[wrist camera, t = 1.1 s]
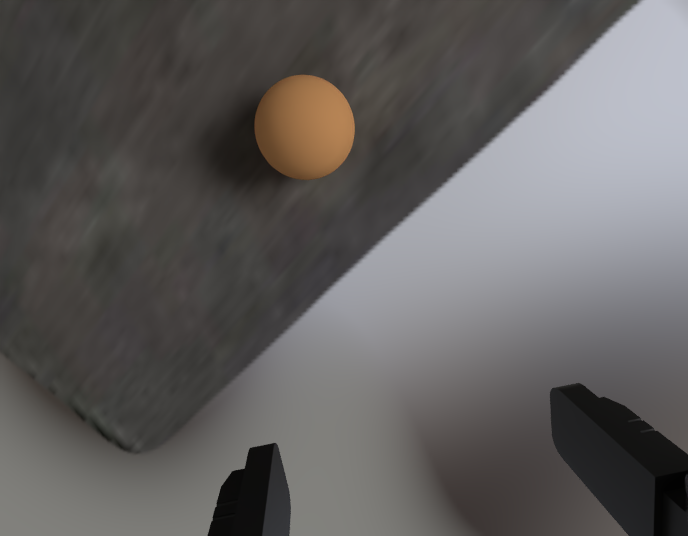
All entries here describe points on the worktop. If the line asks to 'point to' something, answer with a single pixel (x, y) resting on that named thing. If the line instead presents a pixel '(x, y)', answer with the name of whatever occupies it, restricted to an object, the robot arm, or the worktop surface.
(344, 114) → the ball
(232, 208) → the worktop surface
